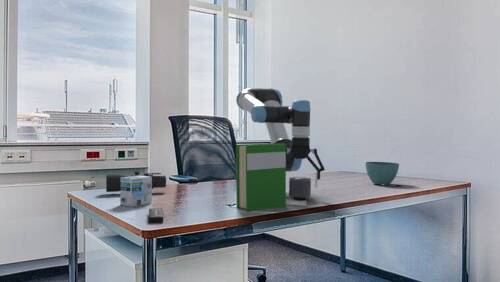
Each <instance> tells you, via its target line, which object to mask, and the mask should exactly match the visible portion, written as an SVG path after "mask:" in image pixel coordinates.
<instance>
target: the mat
mask: <svg viewBox="0 0 500 282" xmlns="http://www.w3.org/2000/svg"><path fill="white" fill-rule="evenodd" d="M287 205H288V206H289V205H290V206H291V205H292V206H293V205H294V206H307V199H306V200H303V201H299V200H294V197H286V206H287Z"/></svg>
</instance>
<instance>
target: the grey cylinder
mask: <svg viewBox="0 0 500 282" xmlns="http://www.w3.org/2000/svg"><path fill="white" fill-rule="evenodd" d="M288 179H289V180H288V182H289V183H288V186H289V187H288V196H289V197H290V198H294V197H301V198H303V197H306V198H310V197H311V194H312V186H311V185H312V179H311V177H304V176H301V177H300V176H295V177H294V176H292V177H289V178H288Z"/></svg>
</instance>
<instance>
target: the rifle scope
mask: <svg viewBox="0 0 500 282" xmlns="http://www.w3.org/2000/svg"><path fill="white" fill-rule="evenodd" d="M132 176H133V175H130V176H129V175H123V174H106V176H105V177H106V182H105V184H106V185H105V188H106V189H105V191H106V193H113V192H114V193H115V192H116V193H117V192H120V183H121V178H122V177H132ZM134 176H140V171H134ZM141 176H149V177H152V190H153V189H154V188H155V189H156V188H166V187H167V177H166V175H161V172H152V173H151V172H146V173H145V172H144V173H143V174H141Z"/></svg>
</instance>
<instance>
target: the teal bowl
mask: <svg viewBox="0 0 500 282" xmlns="http://www.w3.org/2000/svg"><path fill="white" fill-rule="evenodd" d="M399 167H400V164H399V163H398V162H397V163H396V162H390V161H389V162H387V161H366V162H365V170H366V173H367V175H368V177H369V179H370V181H371V182H372V183H374V184H373V185H375V184H385V185H384V186H388V185H387V184H389V185H391V183H393V182H394V181H395V179H396V177H397V174H398V172H399Z"/></svg>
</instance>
